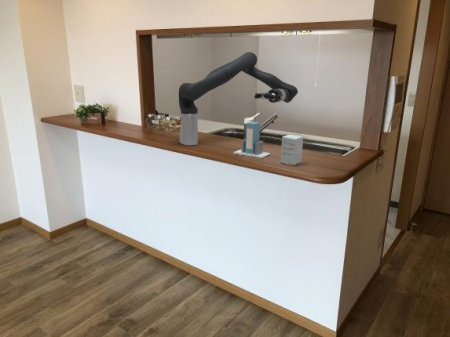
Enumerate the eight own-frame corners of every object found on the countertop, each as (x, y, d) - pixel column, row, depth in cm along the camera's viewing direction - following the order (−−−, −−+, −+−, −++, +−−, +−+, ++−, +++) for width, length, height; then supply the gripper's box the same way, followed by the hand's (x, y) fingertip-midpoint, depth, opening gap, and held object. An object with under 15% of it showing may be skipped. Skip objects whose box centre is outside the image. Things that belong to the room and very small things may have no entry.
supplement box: (287, 160, 177) (289, 134, 174) (301, 162, 173) (304, 136, 169) (279, 163, 172) (281, 136, 168) (294, 166, 167) (296, 138, 164)
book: (244, 153, 184) (246, 123, 180) (251, 150, 189) (252, 121, 185) (252, 154, 182) (254, 124, 177) (258, 152, 187) (260, 122, 182)
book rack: (233, 154, 186) (234, 140, 184) (242, 150, 193) (243, 137, 191) (261, 159, 178) (262, 144, 176) (270, 155, 185) (271, 141, 183)
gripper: (265, 88, 211) (251, 89, 198) (288, 89, 203) (274, 90, 190) (265, 101, 213) (250, 103, 200) (287, 103, 205) (273, 105, 193)
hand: (262, 97), depth 195 cm, fingers open, 8 cm apart
